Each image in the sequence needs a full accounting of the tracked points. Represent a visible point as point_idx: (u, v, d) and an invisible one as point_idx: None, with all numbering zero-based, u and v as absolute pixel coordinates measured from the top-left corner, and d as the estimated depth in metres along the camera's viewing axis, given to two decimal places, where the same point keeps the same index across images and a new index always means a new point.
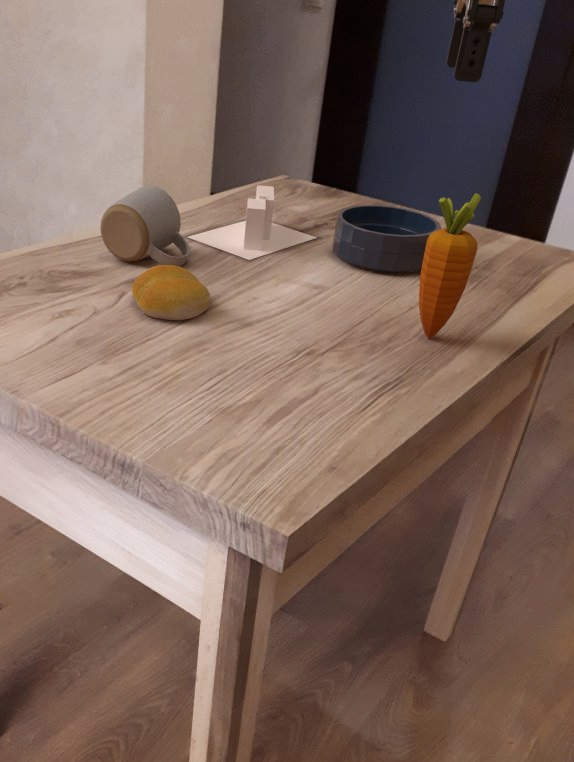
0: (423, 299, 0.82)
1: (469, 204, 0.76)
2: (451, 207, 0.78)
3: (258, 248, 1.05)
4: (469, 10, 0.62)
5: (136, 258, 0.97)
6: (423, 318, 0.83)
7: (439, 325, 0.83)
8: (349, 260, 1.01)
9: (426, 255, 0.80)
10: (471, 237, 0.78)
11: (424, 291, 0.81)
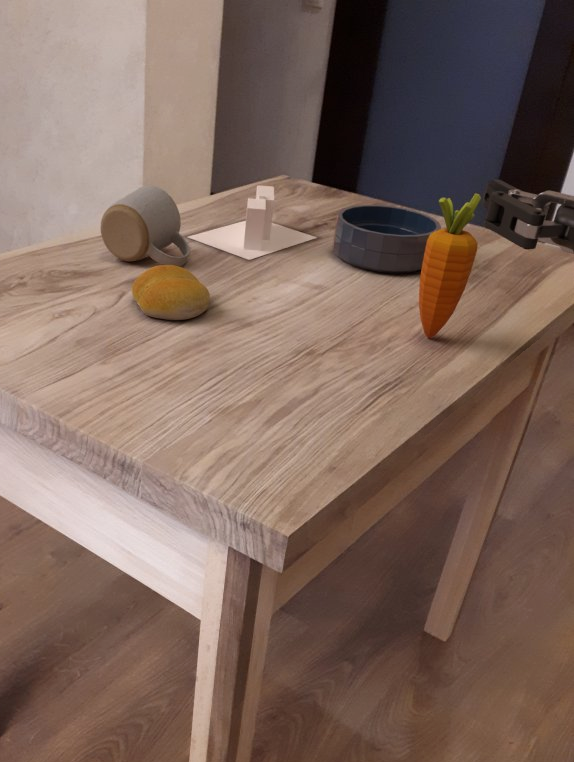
0: (423, 299, 0.82)
1: (469, 204, 0.76)
2: (451, 207, 0.78)
3: (258, 248, 1.05)
4: None
5: (136, 258, 0.97)
6: (423, 318, 0.83)
7: (439, 325, 0.83)
8: (349, 260, 1.01)
9: (426, 255, 0.80)
10: (471, 237, 0.78)
11: (424, 291, 0.81)
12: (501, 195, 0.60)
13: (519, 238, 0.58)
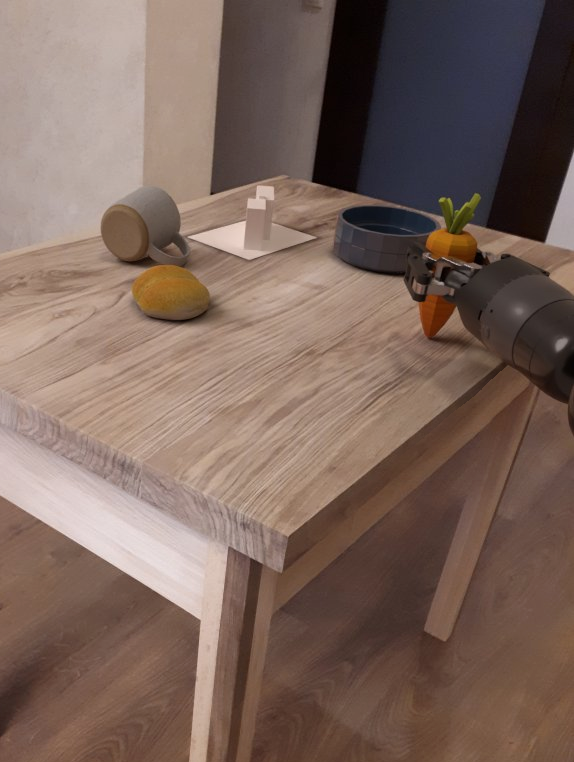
0: None
1: (469, 204, 0.76)
2: (451, 207, 0.78)
3: (258, 248, 1.05)
4: None
5: (136, 258, 0.97)
6: (423, 318, 0.83)
7: (439, 325, 0.83)
8: (349, 260, 1.01)
9: None
10: (471, 237, 0.78)
11: None
12: (414, 258, 0.76)
13: (413, 292, 0.74)
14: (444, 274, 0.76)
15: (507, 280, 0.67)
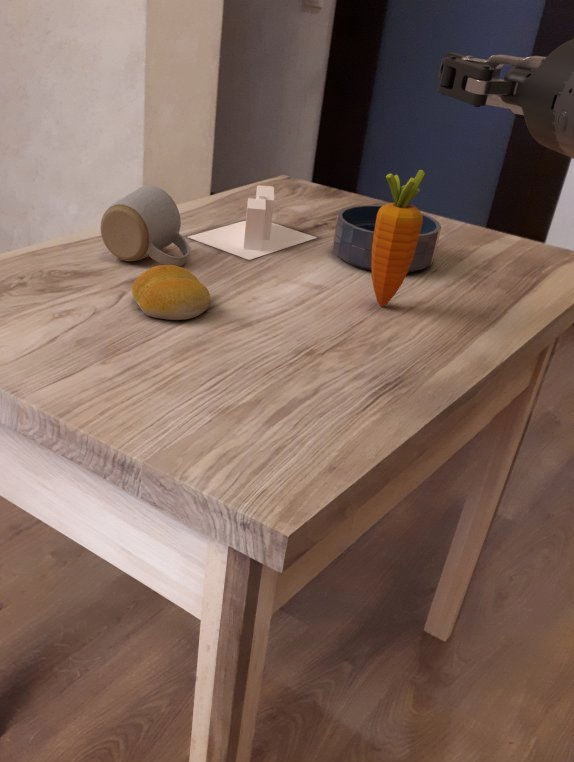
0: (374, 269, 0.88)
1: (413, 179, 0.83)
2: (398, 183, 0.85)
3: (258, 248, 1.05)
4: None
5: (136, 258, 0.97)
6: (375, 287, 0.90)
7: (390, 293, 0.90)
8: (349, 260, 1.01)
9: (376, 227, 0.87)
10: (416, 210, 0.85)
11: (375, 261, 0.88)
12: (453, 59, 0.62)
13: (469, 96, 0.59)
14: (495, 78, 0.62)
15: None
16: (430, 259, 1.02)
